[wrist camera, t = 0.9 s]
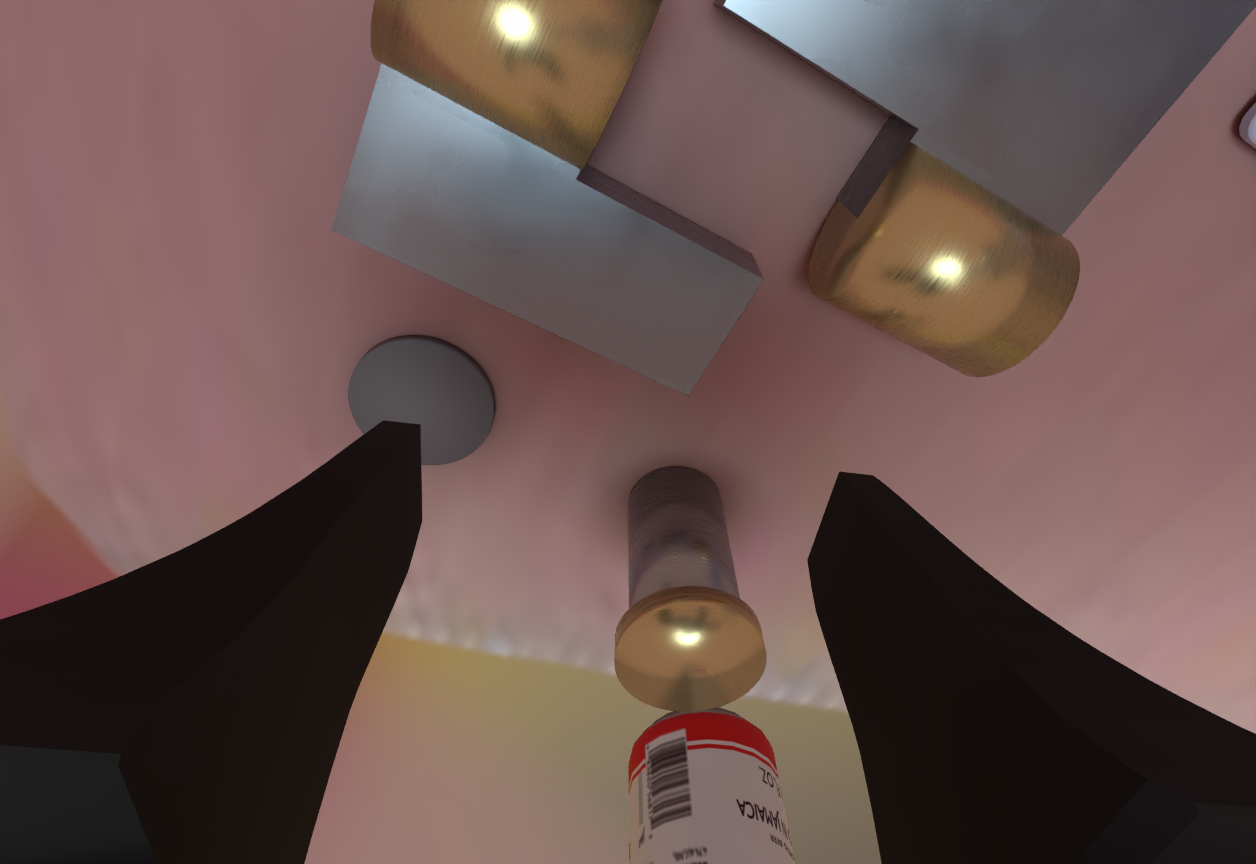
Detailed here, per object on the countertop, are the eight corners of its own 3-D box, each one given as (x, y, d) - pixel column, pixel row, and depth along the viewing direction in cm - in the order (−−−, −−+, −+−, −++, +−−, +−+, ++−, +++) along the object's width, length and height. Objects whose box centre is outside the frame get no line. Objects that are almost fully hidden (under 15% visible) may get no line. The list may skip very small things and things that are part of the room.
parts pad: (516, 373, 22) (515, 379, 21) (465, 477, 24) (462, 484, 24) (376, 310, 21) (372, 316, 20) (335, 425, 23) (331, 432, 22)
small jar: (754, 484, 24) (796, 640, 18) (695, 562, 26) (715, 727, 20) (651, 438, 23) (660, 588, 17) (596, 523, 25) (589, 684, 19)
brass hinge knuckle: (845, 103, 18) (899, 130, 14) (682, 363, 21) (694, 434, 18) (465, -134, 15) (420, -169, 12) (357, 208, 19) (299, 256, 16)
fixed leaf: (1209, -18, 17) (1370, -20, 13) (926, 334, 21) (987, 404, 18) (863, -295, 14) (945, -391, 10) (628, 172, 19) (629, 216, 15)
